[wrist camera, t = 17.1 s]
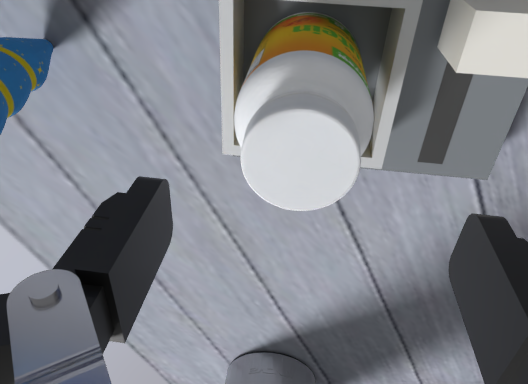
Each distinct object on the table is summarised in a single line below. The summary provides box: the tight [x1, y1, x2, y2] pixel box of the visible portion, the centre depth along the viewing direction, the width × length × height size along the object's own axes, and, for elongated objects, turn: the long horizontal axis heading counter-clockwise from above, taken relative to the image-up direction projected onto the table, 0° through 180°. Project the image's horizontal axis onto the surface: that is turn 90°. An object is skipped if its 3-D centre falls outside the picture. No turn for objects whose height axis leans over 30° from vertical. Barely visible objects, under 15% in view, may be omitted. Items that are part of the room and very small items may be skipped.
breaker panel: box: [219, 0, 528, 180], centre depth 21 cm, size 12×15×6 cm
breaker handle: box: [437, 0, 528, 78], centre depth 18 cm, size 2×3×4 cm
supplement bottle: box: [234, 12, 374, 211], centre depth 18 cm, size 5×5×10 cm
